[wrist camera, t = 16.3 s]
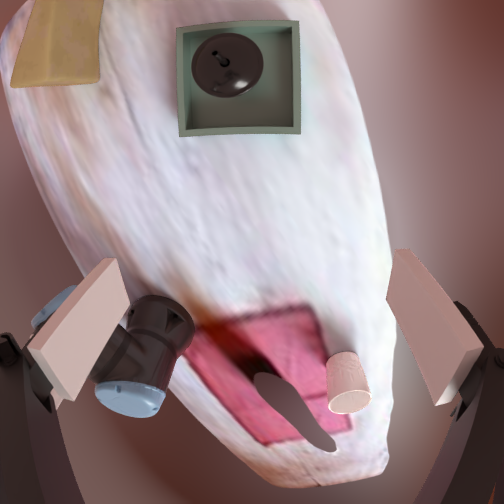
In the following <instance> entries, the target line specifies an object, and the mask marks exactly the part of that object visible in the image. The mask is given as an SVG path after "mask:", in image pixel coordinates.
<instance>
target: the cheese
mask: <svg viewBox="0 0 504 504" xmlns="http://www.w3.org/2000/svg"><path fill="white" fill-rule="evenodd" d="M103 2H104V0H36V1H35V4H34V7H33V10H32V12H31V15H30V18H29V21H28V25H27V28H26V31H25V34H24V37H23V40H22V43H21V46H20V49H19V52H18V55H17V59H16V62H15V65H14V69H13V73H12V77H11V82H10V86H11V87H12V88H24V87H40V86H68V85H79V84H91V83H96V82H98V81H99V78H100V73H99V53H98V37H99V24H100V18H101V13H102V8H103Z"/></svg>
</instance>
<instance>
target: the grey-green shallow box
mask: <svg viewBox="0 0 504 504" xmlns="http://www.w3.org/2000/svg"><path fill="white" fill-rule="evenodd" d="M221 33H238V34H241V35H244V36H246V37H248V38H250V39H251V40H252V41H254V42H255V43H256V44H257V46H258V47H259V49H260V50H261V52H262V55H263V60H264V68H263V73H262V75H261V78H260V79H259V81H258V82H257V84H256V85H255V86H254V87H253V88H252V89H251V90H250V91H248V92H246V93H245V94H243V95H240V96H237V97H233V98H219V97H215V96H212V95H209V94H207V93H206V92H204V91H203V90H202V89H200V88H199V87H198V85H197V84H196V82H195V81H194V79H193V76H192V72H191V62H192V58H193V55H194V53H195V51H196V50H197V48H198V47H199V46H200V45H201V44H202V43H203V42H204V41H205V40H207V39H208V38H210V37H212V36H214V35H217V34H221ZM176 74H177V105H178V126H179V137H190V136H205V135H226V134H301V68H300V33H299V21H291V20H250V21H232V22H219V23H209V24H201V25H193V26H186V27H180V28H176Z"/></svg>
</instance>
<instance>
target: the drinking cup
mask: <svg viewBox="0 0 504 504" xmlns="http://www.w3.org/2000/svg"><path fill="white" fill-rule="evenodd" d="M263 68H264V60H263V55H262V52H261V50H260V49H259V47H258V46H257V44H256V43H255V42H254V41H252V40H251V39H250V38H248V37H246V36H244V35H241V34H238V33H221V34H217V35H214V36H212V37H210V38H208V39H207V40H205V41H204V42H203V43H202V44H201V45H200V46H199V47H198V48H197V50H196V51H195V53H194V55H193V58H192V62H191V72H192V76H193V79H194V81H195V82H196V84H197V85H198V87H199V88H200V89H202V90H203V91H204V92H206V93H207V94H209V95H212V96H215V97H219V98H233V97H237V96H240V95H243V94H245V93H246V92H248V91H250V90H251V89H252V88H253V87H254V86H255V85H256V84H257V82H258V81H259V79H260V78H261V75H262V73H263Z"/></svg>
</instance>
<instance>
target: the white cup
mask: <svg viewBox="0 0 504 504" xmlns="http://www.w3.org/2000/svg"><path fill="white" fill-rule="evenodd" d="M326 370H327V376H326V378H327V396H328V408H329V410H330V411H332V412H334V413H337V414H349V413H353V412H357V411H359V410H361V409H363V408H365V407H366V406H367V405H368V404H369V403H370V402H371V399H372V396H371V392H370V389H369V386H368V382H367V379H366V376H365V374H364V370H363V368H362V366H361V363H360V359H359V357H358V356H357V355H356V354H355V353H352V352H340V353H337V354H335V355H333V356H332V357H330V358H329V359H328V361H327V363H326Z"/></svg>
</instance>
